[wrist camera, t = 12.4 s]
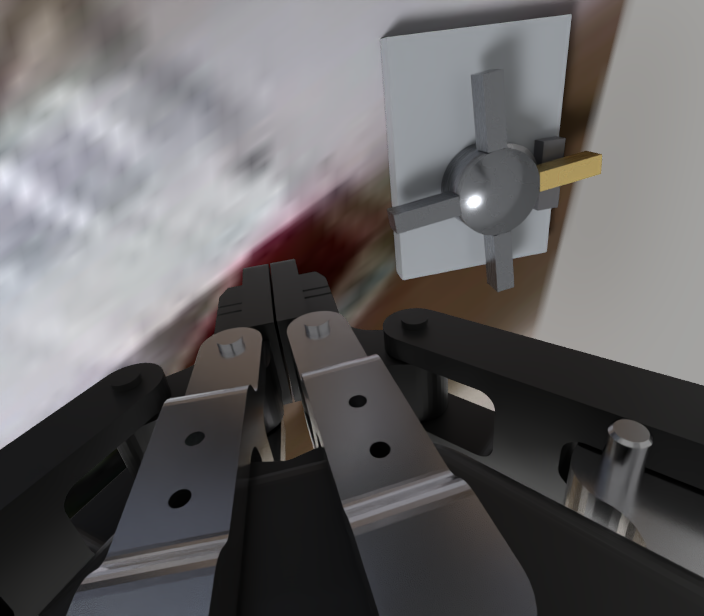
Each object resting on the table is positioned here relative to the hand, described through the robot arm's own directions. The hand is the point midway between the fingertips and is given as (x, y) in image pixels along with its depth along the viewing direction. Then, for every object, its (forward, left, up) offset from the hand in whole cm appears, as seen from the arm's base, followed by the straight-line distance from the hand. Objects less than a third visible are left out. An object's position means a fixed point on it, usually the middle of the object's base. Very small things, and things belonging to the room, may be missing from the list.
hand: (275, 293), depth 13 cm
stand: (+3, +18, -27) cm, 33 cm away
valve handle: (+5, +18, -25) cm, 32 cm away
